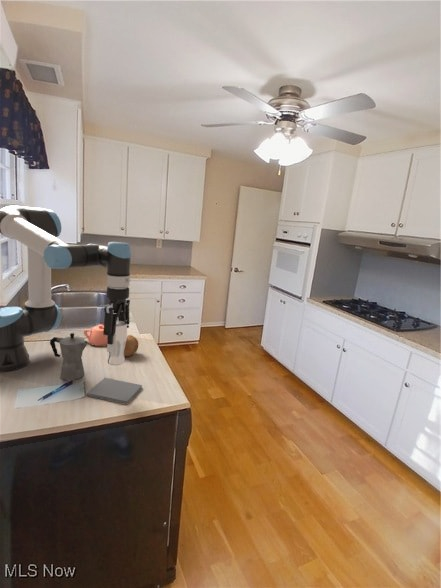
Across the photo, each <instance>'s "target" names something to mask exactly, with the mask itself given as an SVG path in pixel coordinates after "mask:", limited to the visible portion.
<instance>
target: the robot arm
mask: <svg viewBox="0 0 441 588" xmlns="http://www.w3.org/2000/svg"><path fill="white" fill-rule="evenodd" d="M61 232H62V223H61V219H60V217H59V216H58V215H57V213H56V212H55V211H54V210H52V209H48V208H43V207H31V206H20V205H8V206H7V205H6V206H5V207H2V208H0V234H1V235H2V236H4V237H5V238H8V239H10V240H16V241H17V242H18V243H21V244H23V245H24V246H26V247H27V284H28V285H27V286H28V287H27V288H28V300H26V301H25V302H24V309H23V308H22V307H20V306H6V307H1V308H0V372H1V373H3V372H10V371H11V372H12V371H15V370H19V369H21V368H24V367H25V366H27V365H28V364H30V362H31V360H30V359H31V358H30V353H28V349H27V348H26V346H25V337H29V336H34V335H39V334H42V333H47V332H50V331H52V330H55V329H57V328H58V327H59V326H60V324H61V322H62V321H61V320H62V311H61V309H60V307H59V306H58V305H57V304H56V302H55V301H54V300H53V299H52V269H53V270H56V269H57V270H66V269H76V268H91V267H103V268H106V270H107V272H106V286H107V287H106V297H107V299H109V305H108V306H104V308H103V309H104V310H103V311H104V320H103V321H104V322H103V326H104V331H103V334H104V335H107V345H106V347H107V348H106V351H107V352H108V353H109V352H112V353H115V344H116V335H114V333H115V328H116V323H117V321H124V322H126V323H127V329H129V328H130V302H131V300H130V299H129V298H130V282H131V279H130V277H131V276H130V275H131V259H132V253H131V252H132V251H131V244H129V243H128V242H123V241H122V242H121V241H109V242H108V243H107V245H103V244H99V243H88V244H68V243H67V242H65V241H63V240H61V239H59V238H58V237H59V236H61Z"/></svg>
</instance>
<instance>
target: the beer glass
mask: <svg viewBox="0 0 441 588" xmlns="http://www.w3.org/2000/svg"><path fill="white" fill-rule="evenodd" d="M114 335H116V344H115V353H112V352H108V358H107V363H108V365H110V366H121V365H123V364H124V363H125V362H126V359H125V358H126V356H124V350H125V345H126V340H127V335H128V328H127V323H126V322H124V321H119V320H117V323H116V328H115V333H114Z"/></svg>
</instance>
